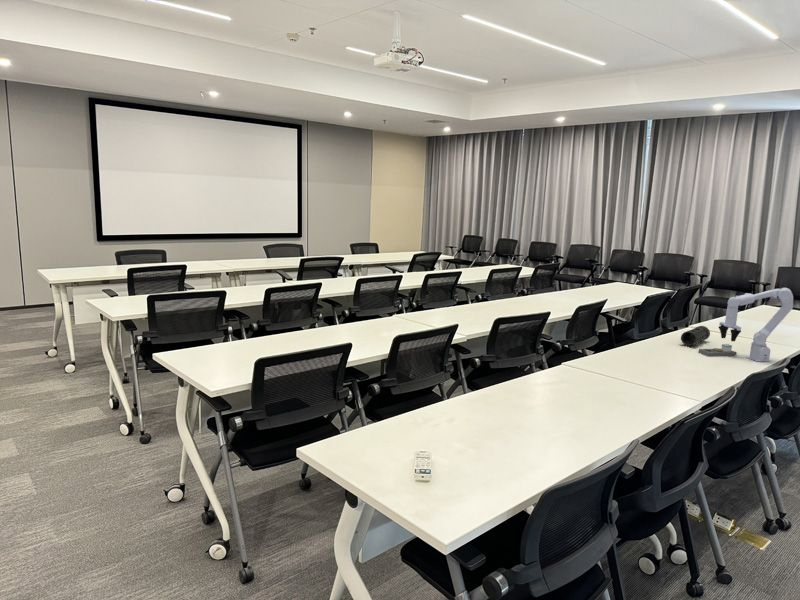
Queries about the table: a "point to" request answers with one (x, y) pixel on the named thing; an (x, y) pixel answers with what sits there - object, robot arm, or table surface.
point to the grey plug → (726, 347)
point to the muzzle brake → (695, 335)
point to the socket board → (716, 352)
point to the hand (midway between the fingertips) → (728, 339)
